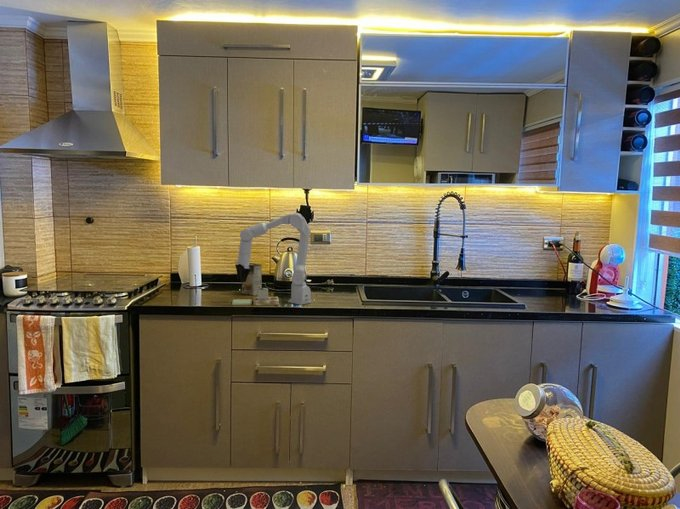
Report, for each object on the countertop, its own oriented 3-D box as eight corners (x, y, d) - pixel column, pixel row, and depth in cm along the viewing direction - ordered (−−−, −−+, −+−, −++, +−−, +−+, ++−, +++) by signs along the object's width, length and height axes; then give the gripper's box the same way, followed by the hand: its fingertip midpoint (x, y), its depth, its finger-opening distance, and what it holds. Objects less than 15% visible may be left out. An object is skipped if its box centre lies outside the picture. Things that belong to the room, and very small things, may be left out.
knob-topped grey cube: (267, 301, 233) (267, 287, 232) (268, 304, 228) (268, 289, 227) (257, 302, 232) (257, 287, 231) (257, 304, 227) (257, 289, 226)
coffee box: (241, 293, 253) (241, 263, 251) (249, 291, 258) (249, 262, 256) (253, 295, 247) (253, 265, 246) (262, 293, 253) (262, 264, 251)
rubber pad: (251, 300, 235) (251, 299, 235) (251, 304, 226) (251, 303, 226) (233, 301, 233) (233, 299, 233) (232, 305, 224) (232, 303, 224)
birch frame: (277, 300, 236) (277, 296, 236) (278, 304, 227) (278, 300, 226) (253, 301, 234) (253, 296, 234) (253, 305, 225) (253, 301, 224)
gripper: (233, 250, 235) (230, 277, 236) (239, 254, 222) (236, 283, 223) (247, 251, 238) (244, 277, 239) (254, 256, 225) (251, 283, 226)
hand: (241, 280), depth 231 cm, fingers open, 7 cm apart
